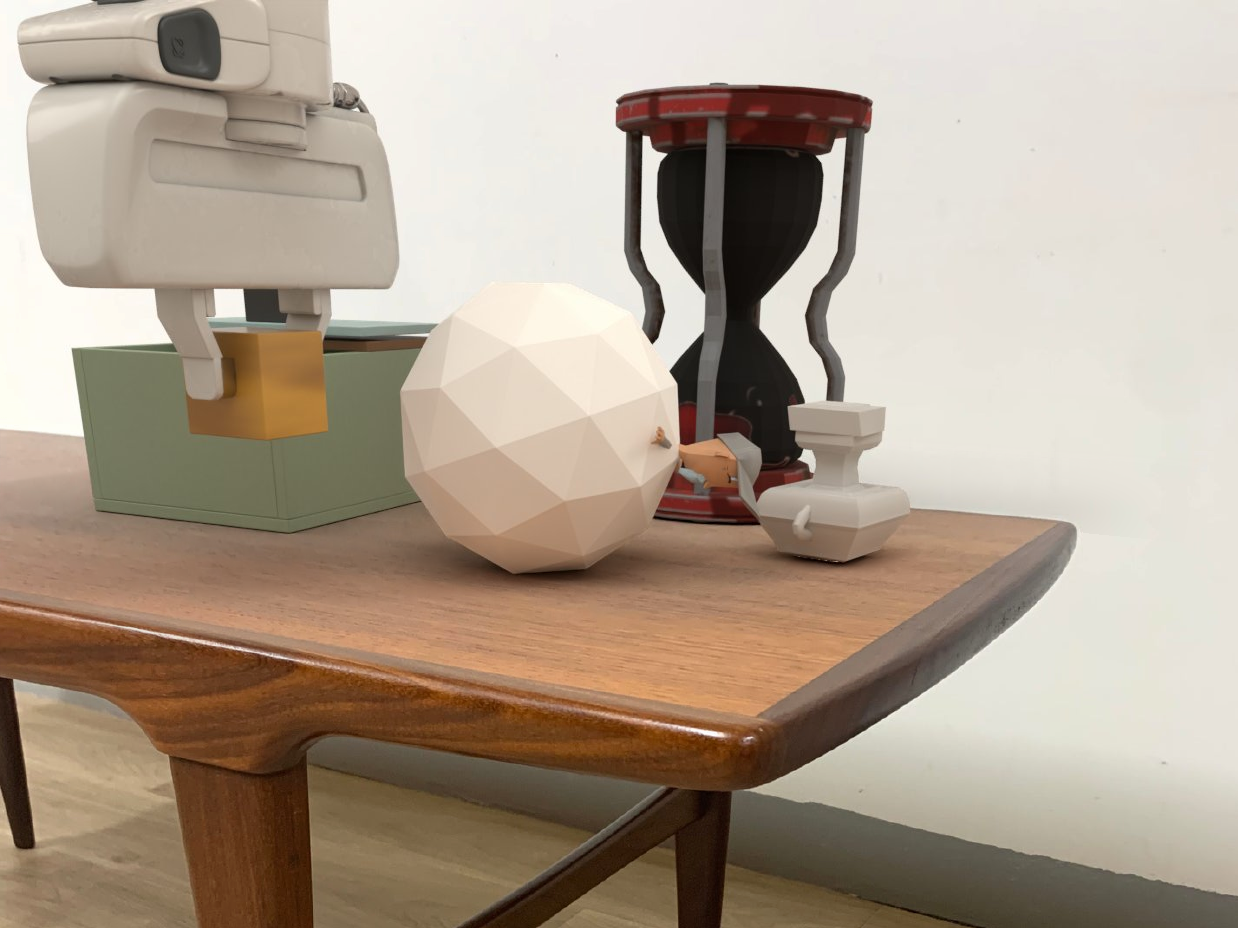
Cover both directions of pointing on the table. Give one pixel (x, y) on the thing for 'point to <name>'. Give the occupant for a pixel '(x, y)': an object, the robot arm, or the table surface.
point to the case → (245, 441)
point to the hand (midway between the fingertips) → (255, 394)
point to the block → (266, 386)
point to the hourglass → (740, 256)
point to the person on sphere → (550, 429)
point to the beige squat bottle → (833, 487)
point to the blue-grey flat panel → (267, 315)
